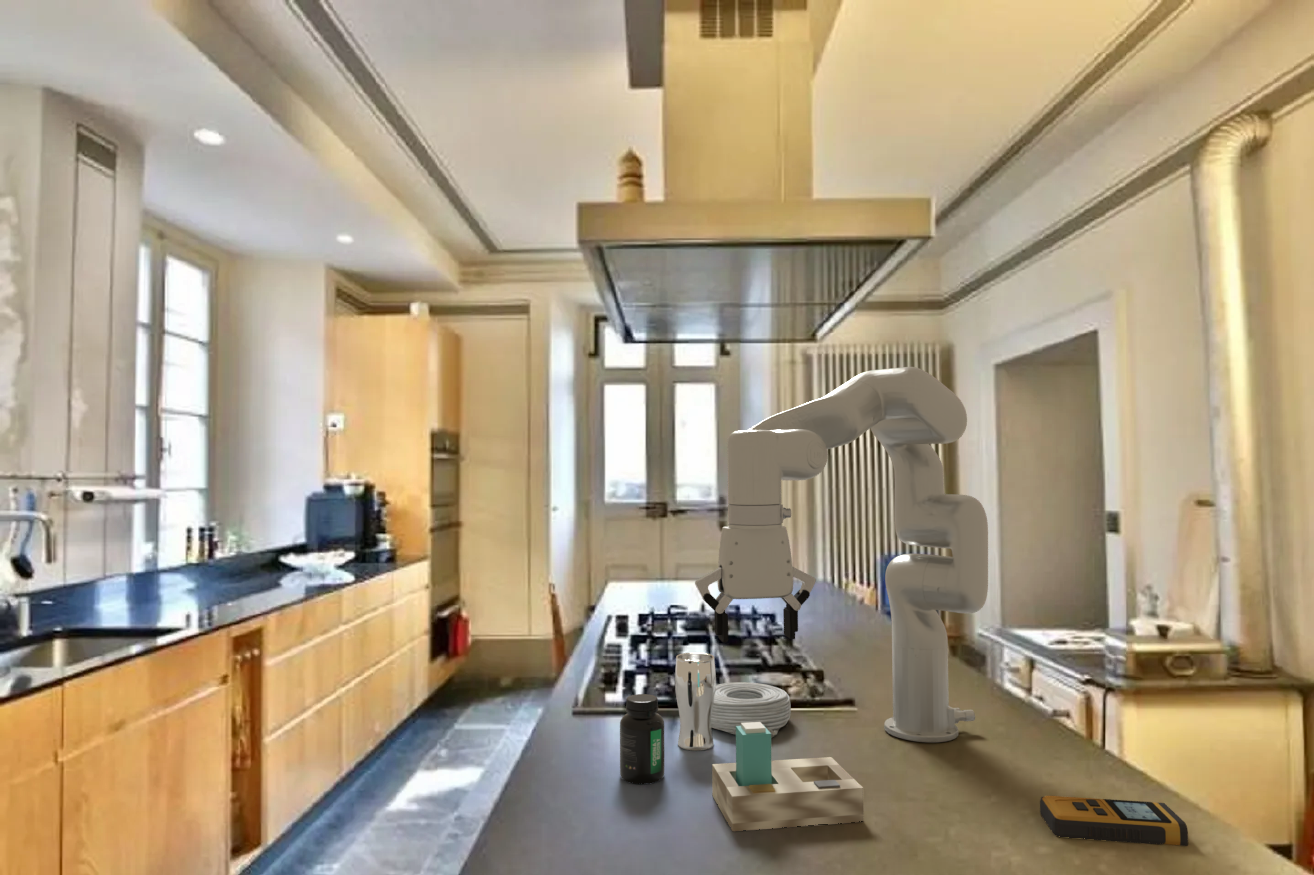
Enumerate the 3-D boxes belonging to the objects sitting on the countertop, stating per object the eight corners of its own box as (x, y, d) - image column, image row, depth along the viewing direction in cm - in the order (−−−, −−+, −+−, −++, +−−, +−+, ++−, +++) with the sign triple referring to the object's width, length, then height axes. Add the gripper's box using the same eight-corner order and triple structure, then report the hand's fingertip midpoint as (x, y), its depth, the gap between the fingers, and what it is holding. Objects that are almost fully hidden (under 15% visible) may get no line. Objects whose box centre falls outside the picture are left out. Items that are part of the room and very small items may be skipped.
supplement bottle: (668, 783, 125) (667, 703, 126) (622, 786, 124) (622, 705, 125) (660, 767, 132) (660, 691, 132) (617, 770, 131) (617, 693, 131)
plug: (764, 796, 118) (763, 720, 118) (771, 807, 114) (771, 729, 114) (736, 797, 117) (735, 721, 117) (743, 809, 113) (742, 730, 114)
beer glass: (713, 753, 138) (712, 662, 139) (672, 750, 140) (671, 660, 140) (718, 739, 145) (717, 652, 146) (679, 737, 147) (678, 651, 147)
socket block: (831, 787, 123) (831, 754, 123) (863, 821, 111) (863, 785, 112) (712, 795, 120) (712, 762, 121) (732, 831, 109) (732, 794, 109)
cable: (772, 744, 144) (771, 708, 144) (680, 729, 152) (680, 696, 152) (803, 716, 159) (803, 684, 159) (719, 705, 167) (719, 674, 167)
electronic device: (1037, 816, 114) (1037, 791, 115) (1162, 823, 112) (1161, 797, 112) (1055, 843, 106) (1054, 815, 106) (1190, 851, 103) (1189, 823, 104)
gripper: (804, 514, 123) (806, 631, 122) (689, 516, 120) (691, 636, 120) (822, 517, 116) (824, 641, 115) (700, 520, 113) (702, 647, 112)
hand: (756, 638), depth 117 cm, fingers open, 9 cm apart
